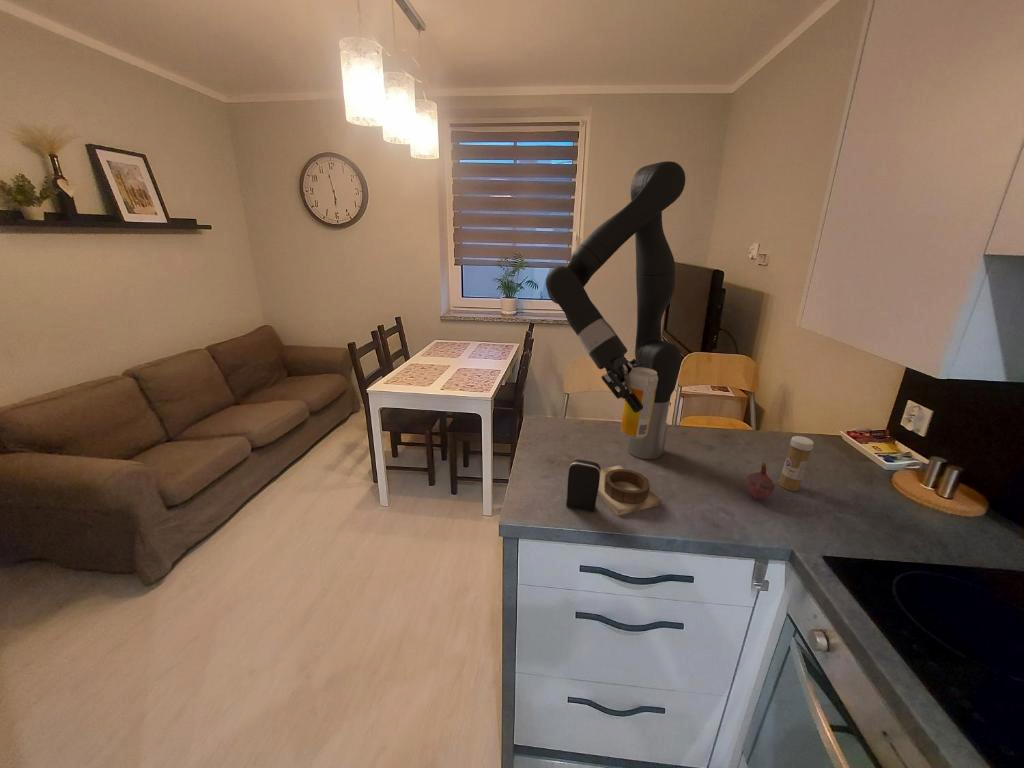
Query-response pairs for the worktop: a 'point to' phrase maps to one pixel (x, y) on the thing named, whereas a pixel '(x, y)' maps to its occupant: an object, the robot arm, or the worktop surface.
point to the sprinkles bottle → (796, 463)
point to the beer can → (645, 392)
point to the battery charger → (583, 485)
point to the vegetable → (760, 484)
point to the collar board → (628, 487)
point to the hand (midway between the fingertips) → (645, 406)
